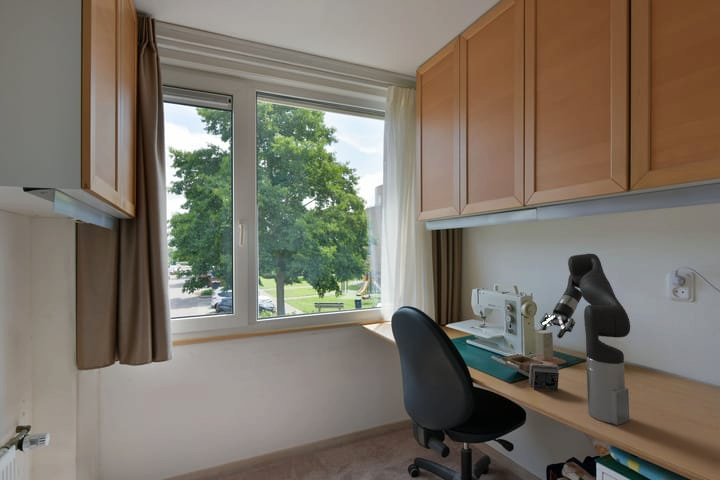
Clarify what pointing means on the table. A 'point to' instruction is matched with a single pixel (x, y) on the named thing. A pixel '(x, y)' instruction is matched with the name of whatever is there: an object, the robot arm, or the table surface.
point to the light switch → (510, 365)
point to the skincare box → (544, 345)
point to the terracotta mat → (551, 361)
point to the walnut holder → (521, 361)
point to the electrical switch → (544, 377)
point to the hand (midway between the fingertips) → (549, 334)
